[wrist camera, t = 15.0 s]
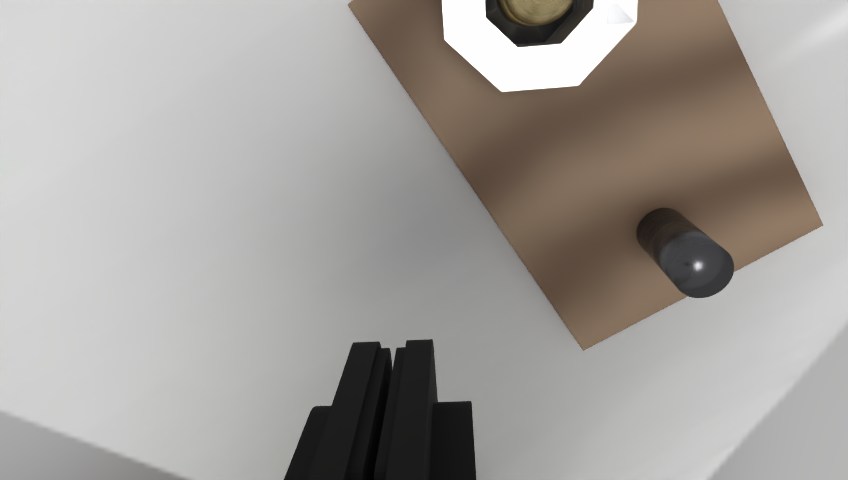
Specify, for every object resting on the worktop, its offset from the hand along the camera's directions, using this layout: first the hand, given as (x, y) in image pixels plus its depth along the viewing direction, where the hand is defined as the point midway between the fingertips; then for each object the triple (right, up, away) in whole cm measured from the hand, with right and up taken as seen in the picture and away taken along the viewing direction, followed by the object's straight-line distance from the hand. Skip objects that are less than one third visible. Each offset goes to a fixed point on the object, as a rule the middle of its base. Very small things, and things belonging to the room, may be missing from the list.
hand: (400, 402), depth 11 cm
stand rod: (+12, +4, +15) cm, 20 cm away
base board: (+9, +9, +15) cm, 19 cm away
